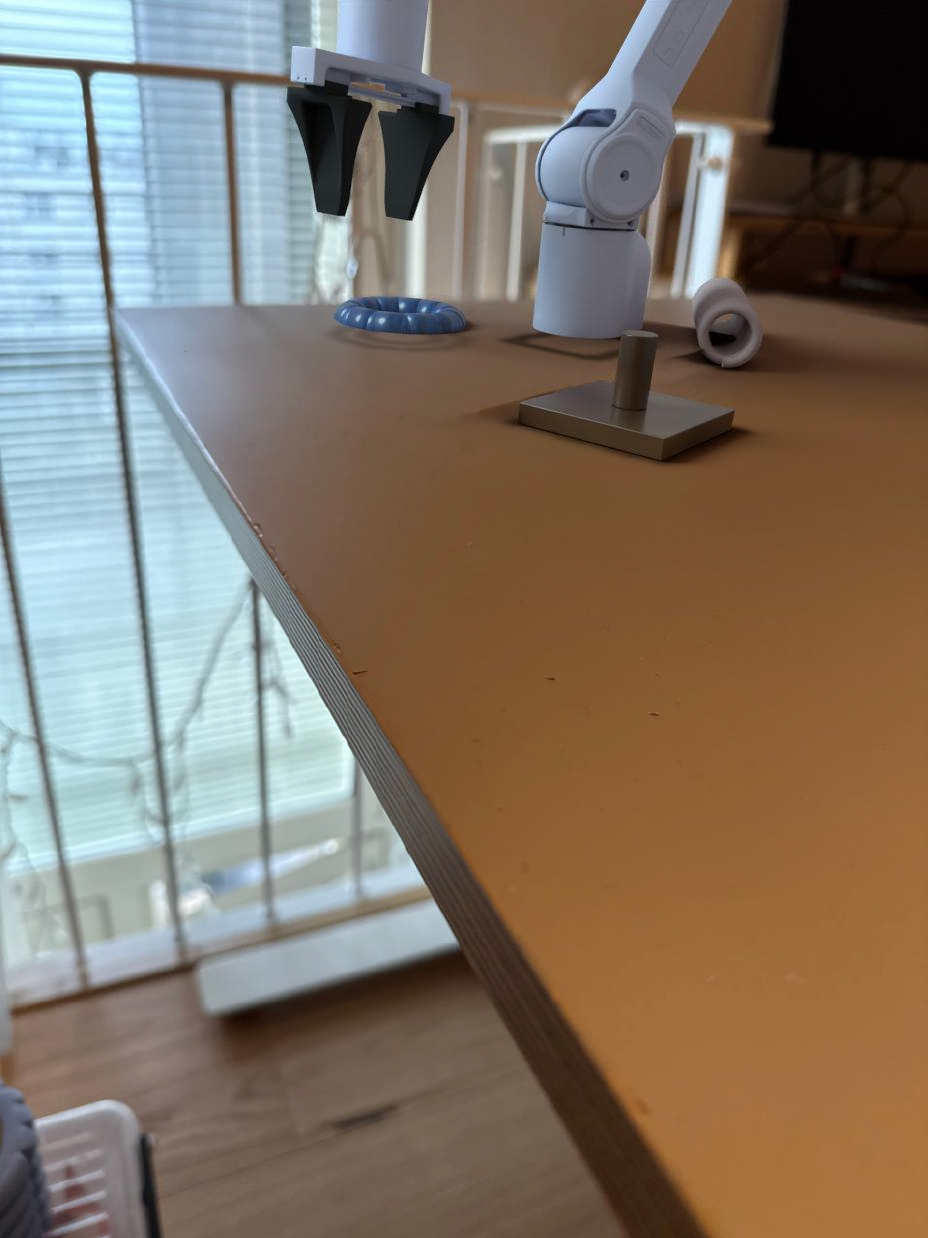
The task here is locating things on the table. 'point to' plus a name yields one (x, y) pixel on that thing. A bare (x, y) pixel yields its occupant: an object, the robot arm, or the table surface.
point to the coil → (726, 322)
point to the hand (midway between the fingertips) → (366, 216)
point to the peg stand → (628, 408)
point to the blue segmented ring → (400, 315)
